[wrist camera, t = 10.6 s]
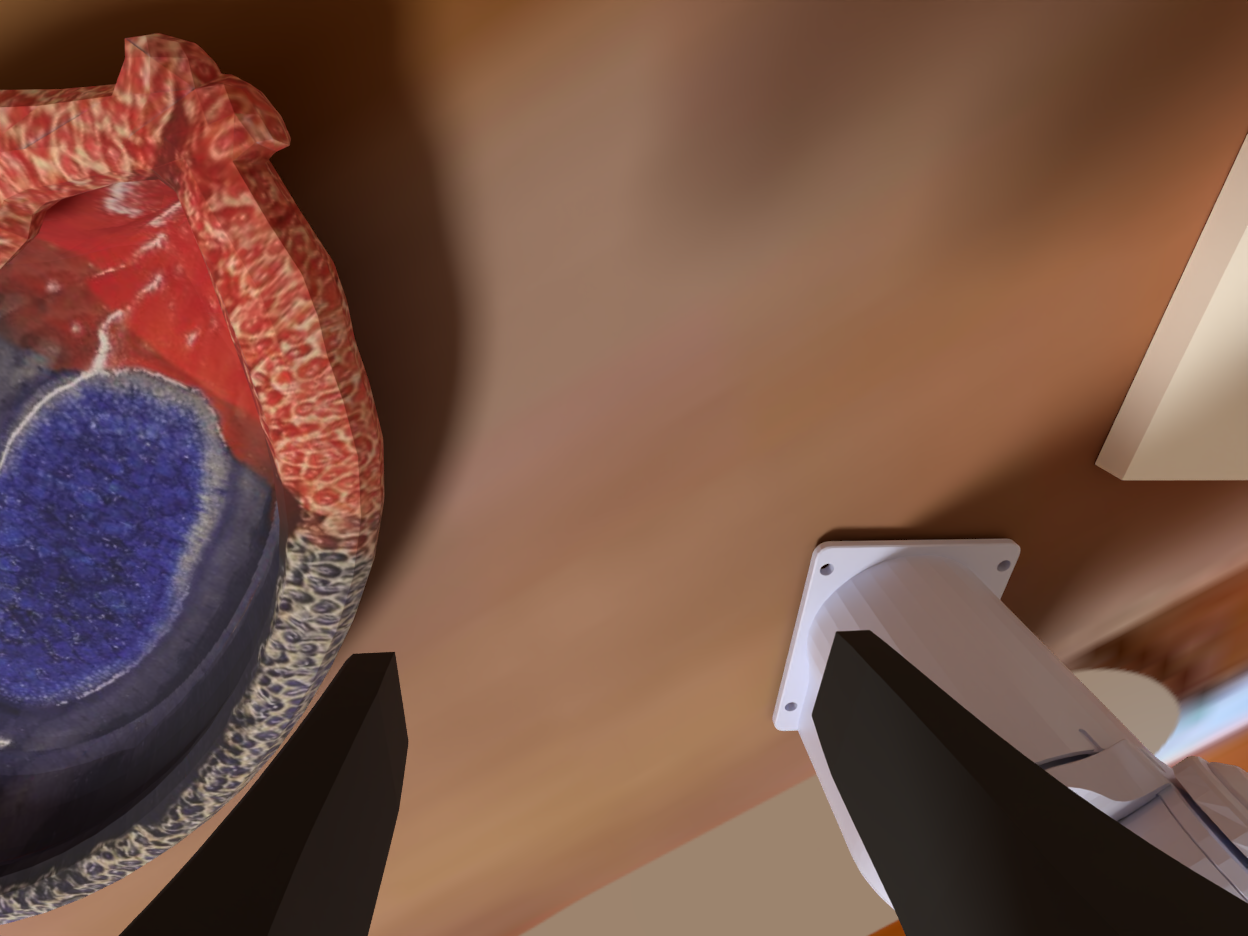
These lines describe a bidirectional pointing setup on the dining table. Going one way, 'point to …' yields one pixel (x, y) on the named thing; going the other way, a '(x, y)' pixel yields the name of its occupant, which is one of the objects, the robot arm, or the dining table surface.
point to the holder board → (1195, 363)
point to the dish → (163, 465)
